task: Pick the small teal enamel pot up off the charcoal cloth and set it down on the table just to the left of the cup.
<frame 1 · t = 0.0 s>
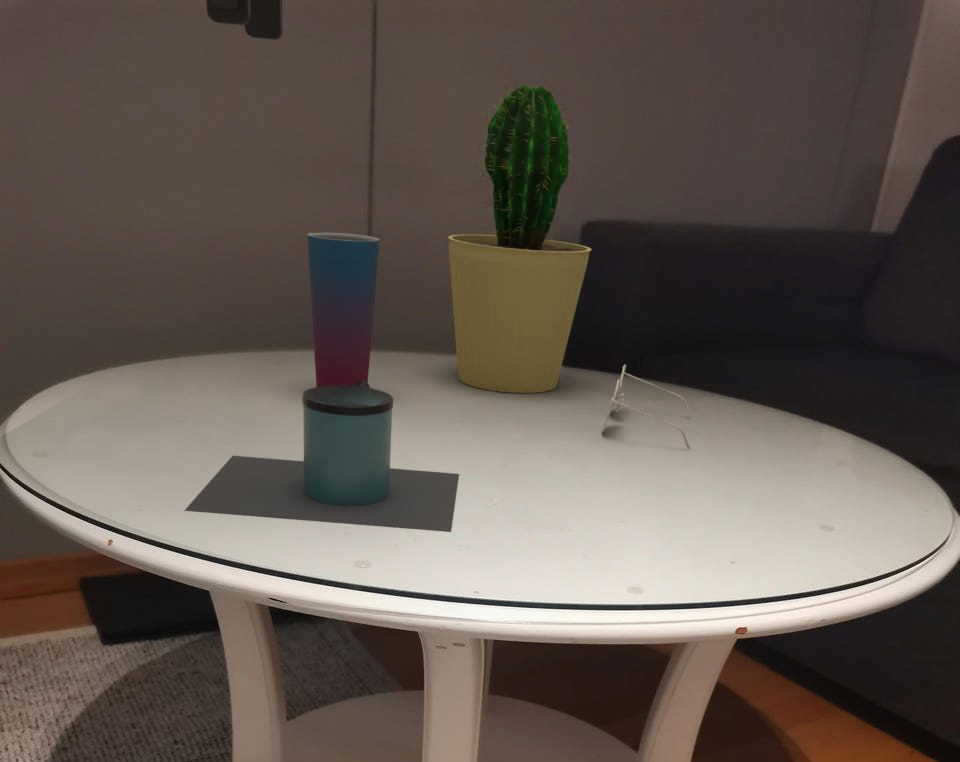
hand: (247, 31, 57), 29 cm above the table, tool pointing down, fingers open, 8 cm apart
pot: (346, 491, 71), resting on cloth
cup: (341, 397, 99), on the table
sunglasses: (647, 429, 97), on the table
potted cactus: (507, 383, 111), on the table
cloth: (333, 495, 71), on the table
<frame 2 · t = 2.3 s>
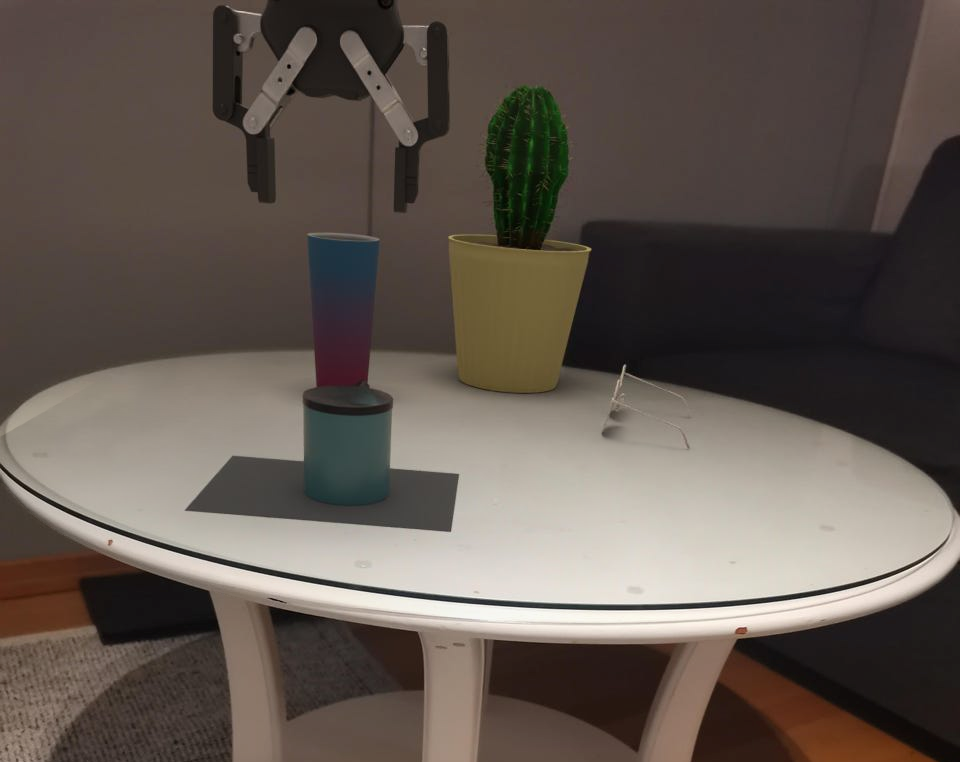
hand: (333, 207, 62), 19 cm above the table, tool pointing down, fingers open, 8 cm apart
nothing on the table moved.
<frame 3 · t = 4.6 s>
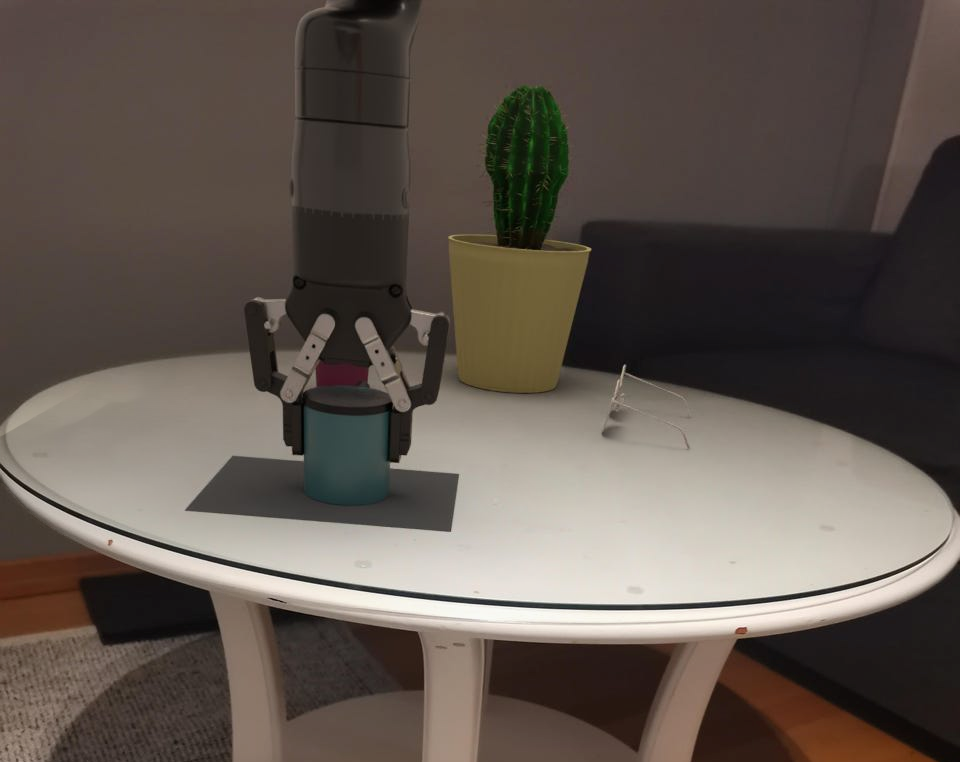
hand: (347, 455, 70), 3 cm above the table, tool pointing down, fingers closed on pot, 6 cm apart
pot: (346, 491, 71), resting on cloth, touching gripper
everything else where it was.
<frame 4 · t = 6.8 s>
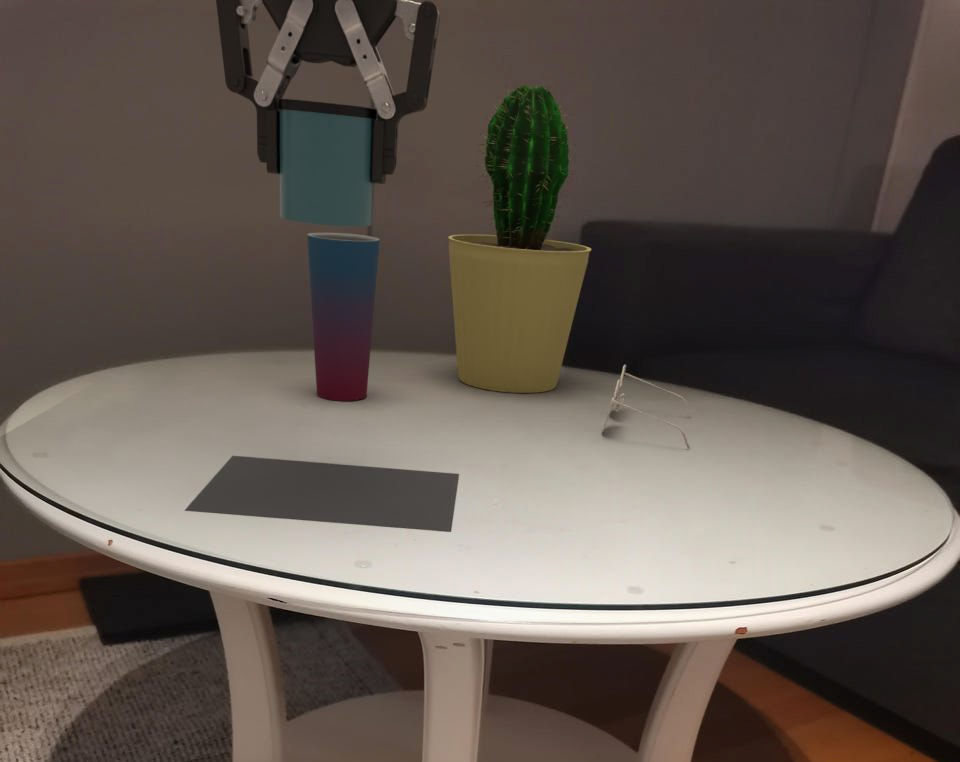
hand: (326, 177, 65), 21 cm above the table, tool pointing down, fingers closed on pot, 6 cm apart
pot: (326, 221, 66), point 18 cm above the table, touching gripper
everything else where it was.
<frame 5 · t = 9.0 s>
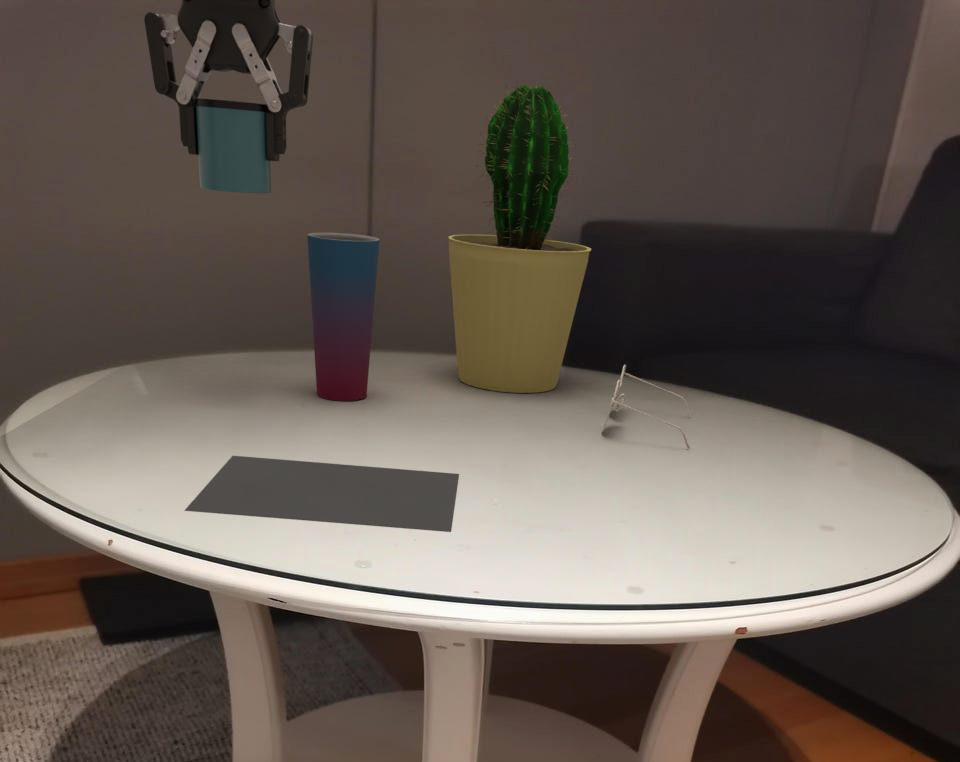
hand: (234, 156, 86), 21 cm above the table, tool pointing down, fingers closed on pot, 6 cm apart
pot: (235, 190, 88), point 18 cm above the table, touching gripper
everything else where it was.
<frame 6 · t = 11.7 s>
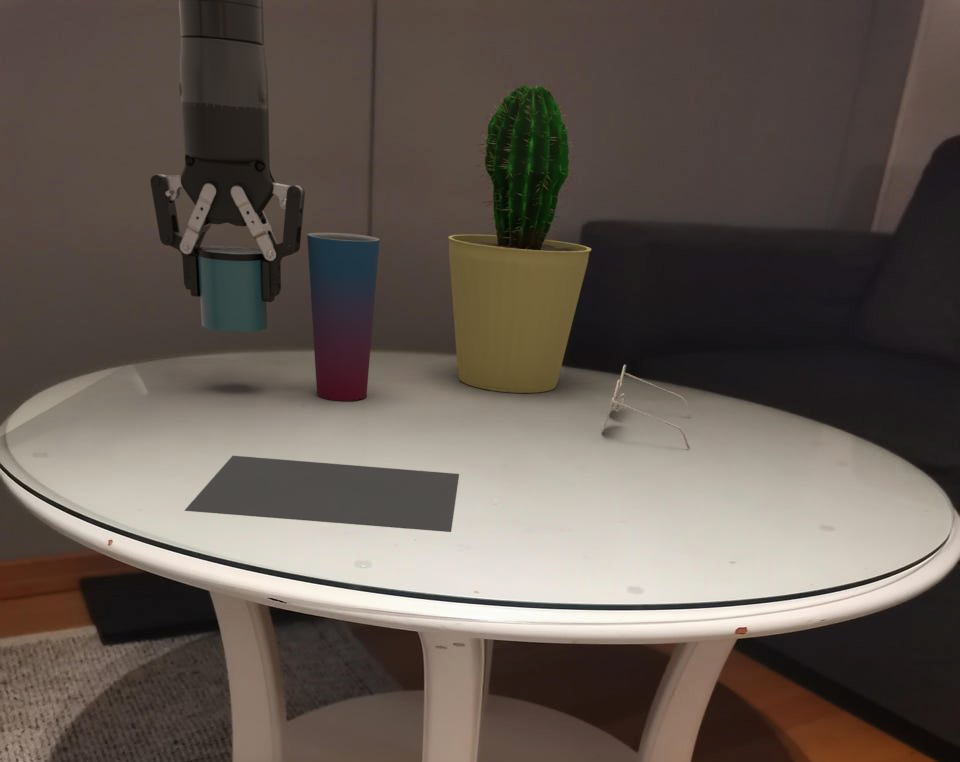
hand: (233, 297, 94), 9 cm above the table, tool pointing down, fingers closed on pot, 6 cm apart
pot: (234, 326, 95), point 6 cm above the table, touching gripper
everything else where it was.
when the fingers open (3 cm above the table, at t = 13.7 s): pot stays where it is, on the table.
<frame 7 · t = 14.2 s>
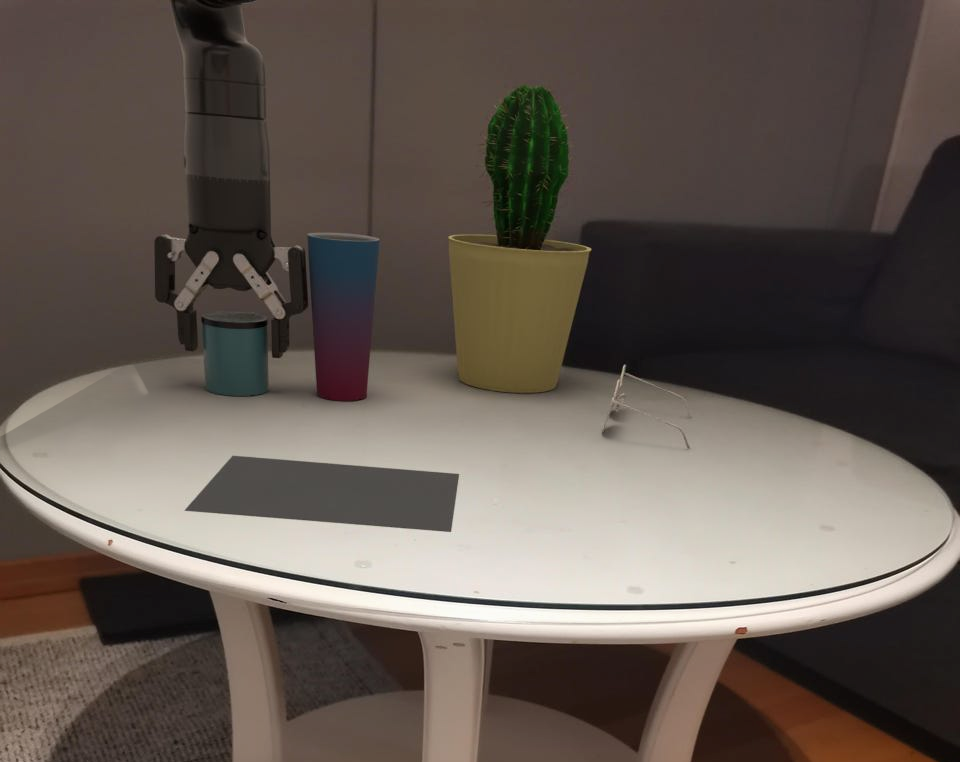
hand: (234, 353, 96), 4 cm above the table, tool pointing down, fingers open, 8 cm apart
pot: (237, 388, 98), on the table
everything else where it was.
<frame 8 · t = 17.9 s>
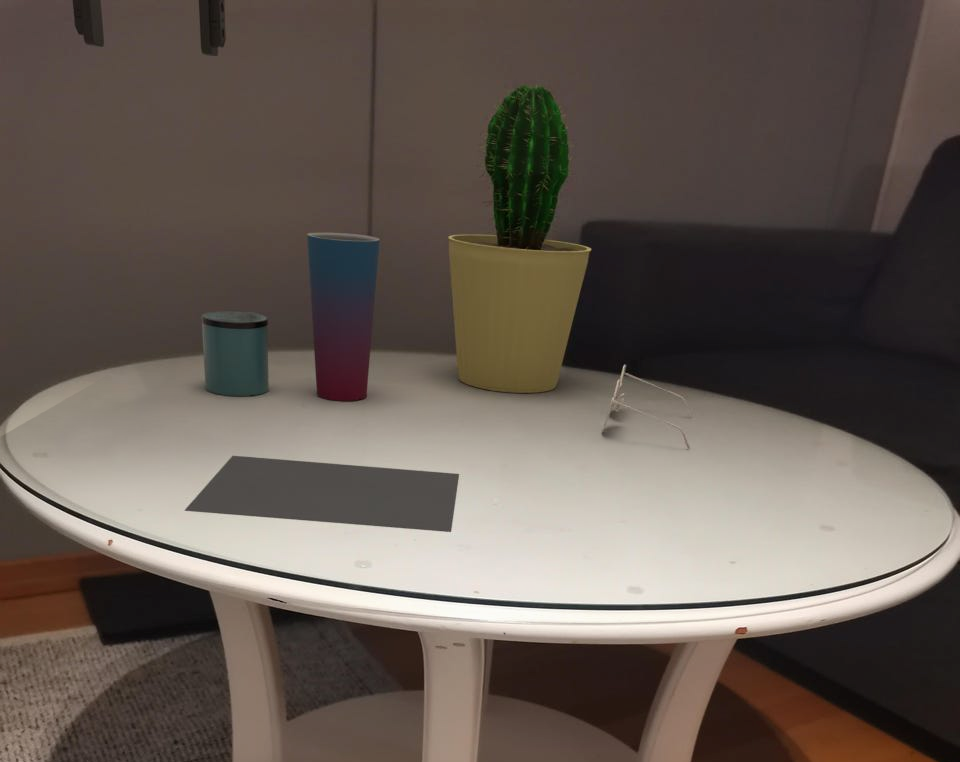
hand: (151, 50, 72), 28 cm above the table, tool pointing down, fingers open, 8 cm apart
nothing on the table moved.
at the end: pot inside the target area on the table beside the cup (1.0 cm from its centre), on the table; pot tilted 0°; pot touching table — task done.
